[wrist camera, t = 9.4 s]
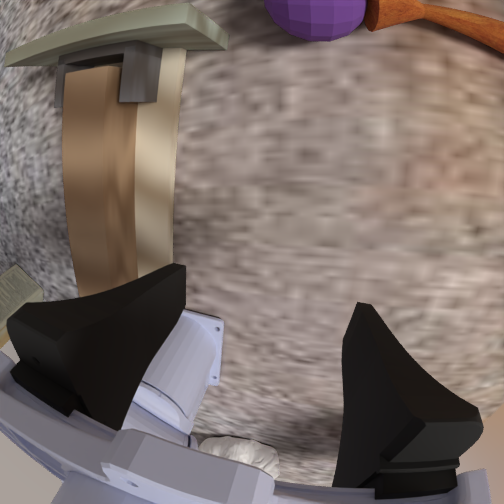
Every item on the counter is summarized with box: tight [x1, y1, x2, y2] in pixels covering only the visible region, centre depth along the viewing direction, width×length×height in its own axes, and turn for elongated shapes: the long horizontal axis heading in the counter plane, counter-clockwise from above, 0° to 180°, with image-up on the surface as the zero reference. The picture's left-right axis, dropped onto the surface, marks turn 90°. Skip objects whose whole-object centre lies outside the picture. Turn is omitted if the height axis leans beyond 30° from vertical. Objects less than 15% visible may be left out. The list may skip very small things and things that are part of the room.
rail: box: [62, 66, 138, 297], centre depth 20 cm, size 18×4×4 cm, turn 173°
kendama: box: [264, 0, 504, 54], centre depth 11 cm, size 6×6×20 cm
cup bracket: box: [4, 3, 229, 278], centre depth 19 cm, size 23×16×7 cm
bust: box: [198, 436, 280, 479], centre depth 33 cm, size 12×8×11 cm
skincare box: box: [0, 264, 44, 349], centre depth 27 cm, size 6×4×12 cm
